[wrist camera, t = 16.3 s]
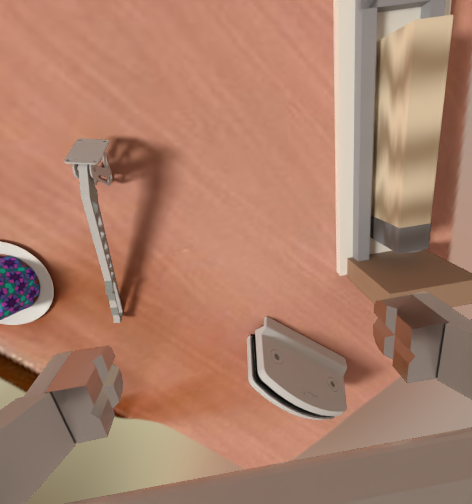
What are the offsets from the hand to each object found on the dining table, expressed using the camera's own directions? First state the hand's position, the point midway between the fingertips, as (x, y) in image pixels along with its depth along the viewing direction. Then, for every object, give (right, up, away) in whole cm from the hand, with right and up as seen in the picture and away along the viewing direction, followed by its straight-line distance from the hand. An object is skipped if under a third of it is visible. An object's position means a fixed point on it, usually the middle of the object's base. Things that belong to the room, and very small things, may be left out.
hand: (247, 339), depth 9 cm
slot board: (+18, +16, +27) cm, 36 cm away
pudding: (-30, -1, +29) cm, 42 cm away
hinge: (+9, -14, +38) cm, 41 cm away
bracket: (-16, +5, +28) cm, 33 cm away
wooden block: (+18, +15, +26) cm, 35 cm away
